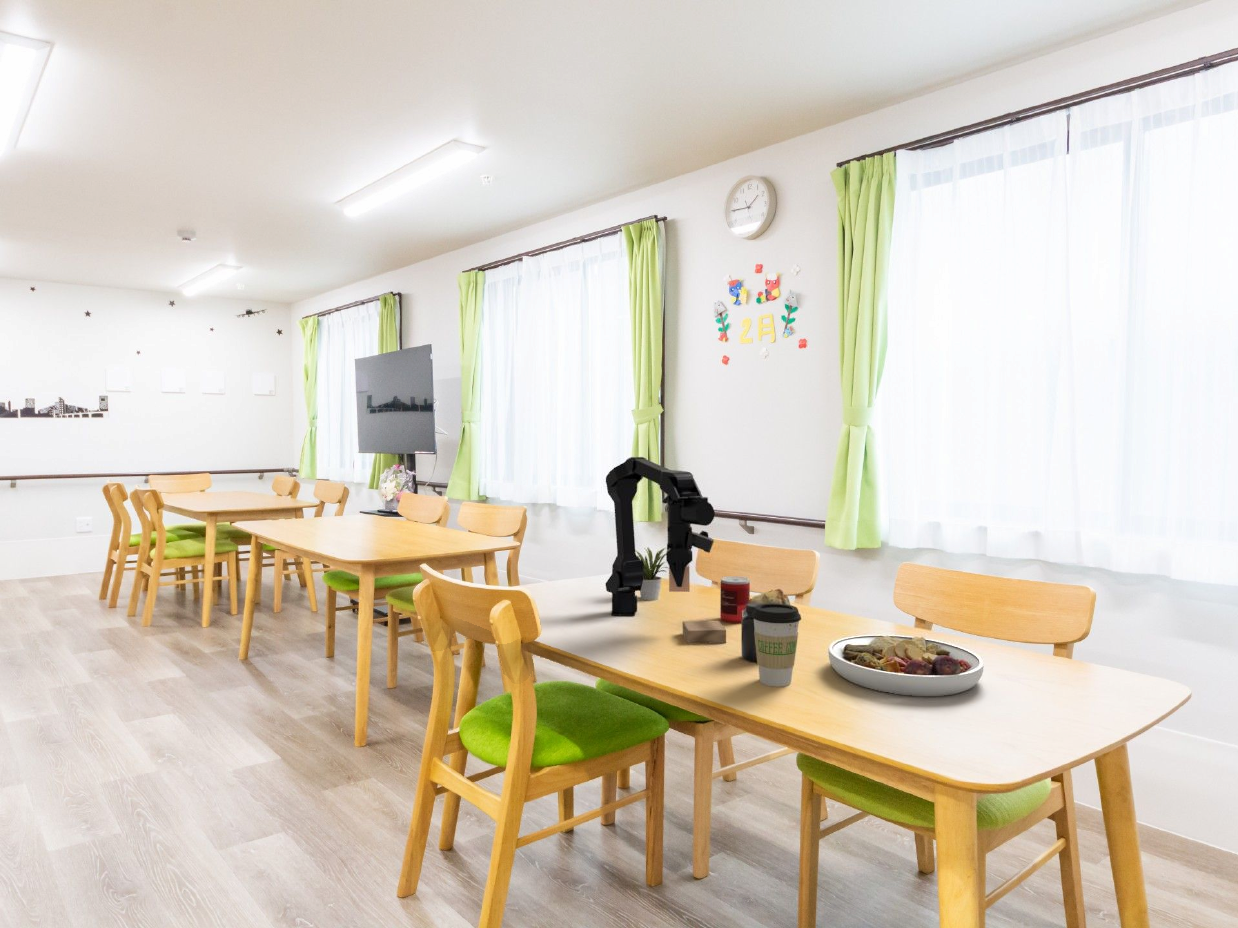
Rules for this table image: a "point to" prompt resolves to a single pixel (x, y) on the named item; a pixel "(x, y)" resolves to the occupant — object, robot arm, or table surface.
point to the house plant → (651, 575)
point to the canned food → (734, 598)
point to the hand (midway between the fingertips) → (679, 584)
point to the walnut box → (704, 632)
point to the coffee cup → (776, 642)
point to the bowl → (905, 664)
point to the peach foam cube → (685, 582)
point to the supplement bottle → (748, 634)
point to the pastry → (771, 597)
